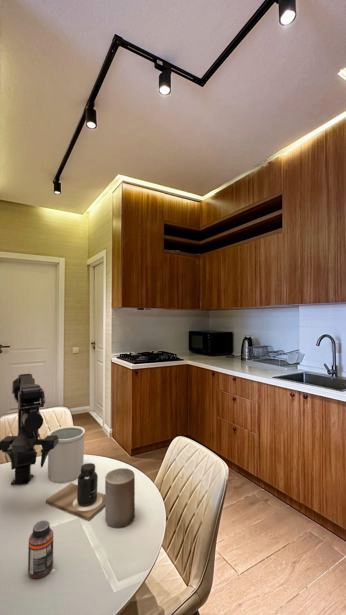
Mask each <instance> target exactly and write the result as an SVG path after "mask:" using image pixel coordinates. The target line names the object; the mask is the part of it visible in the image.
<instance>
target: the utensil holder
mask: <svg viewBox="0 0 346 615" xmlns="http://www.w3.org/2000/svg"><path fill="white" fill-rule="evenodd" d="M47 435H57V436H58V438H59V443H58V444H57V445H56V446H55V448H54V449H51V450H50V451H49V453H48V455H47V477H48V480H49V481H51V482H52V483H57V484H64V483H69V482H70V483H71V482H73V481H75V480H78V476H79V475H80V474H81V466H82V465H84V457H85V456H84V454H85V453H84V452H85V436H86V430H85V428H83V427H82V426H77V425H67V426H66V425H65V426H61V427H56V428H54V429H52V430H51V431H49V432H48V433H47Z"/></svg>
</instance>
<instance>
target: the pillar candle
mask: <svg viewBox="0 0 346 615" xmlns="http://www.w3.org/2000/svg"><path fill="white" fill-rule="evenodd" d="M135 475H136V474H135V472H134V471H133V470H131V469H130V468H127V467H126V468H125V467H123V468H122V467H120V468H115V469H113V470H109V471H108V472H107V473H106V474H105V477H104V478H105V480H104V481H105V483H104V484H105V485H104V488H105V507H104V508H105V509H104V510H105V512H104V514H105V517H104V520H105V523H106V525H108V526H109V527H110V528H114V529H120V528H124V527H127V526H128V525H131V524H132V523H133V522H134V521H135V517H136V513H135V510H136V509H135V506H136V505H135V501H136V500H135V494H136V493H135V492H136V491H135V490H136V488H135V486H136V484H135V483H136V481H135V480H136V479H135Z"/></svg>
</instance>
